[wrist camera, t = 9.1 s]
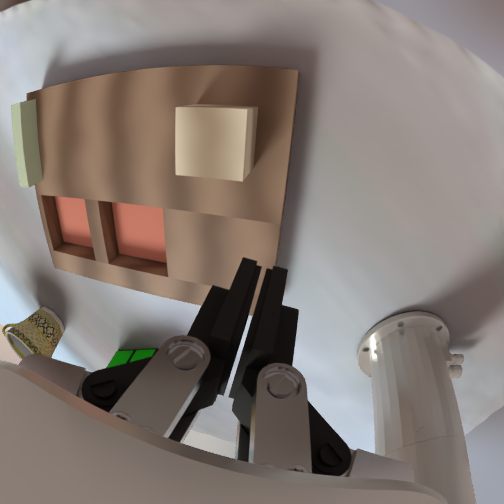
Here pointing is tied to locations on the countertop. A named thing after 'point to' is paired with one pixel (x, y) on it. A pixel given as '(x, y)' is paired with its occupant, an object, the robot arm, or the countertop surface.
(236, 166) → the birch block
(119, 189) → the board
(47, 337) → the ceramic cup
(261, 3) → the countertop surface
